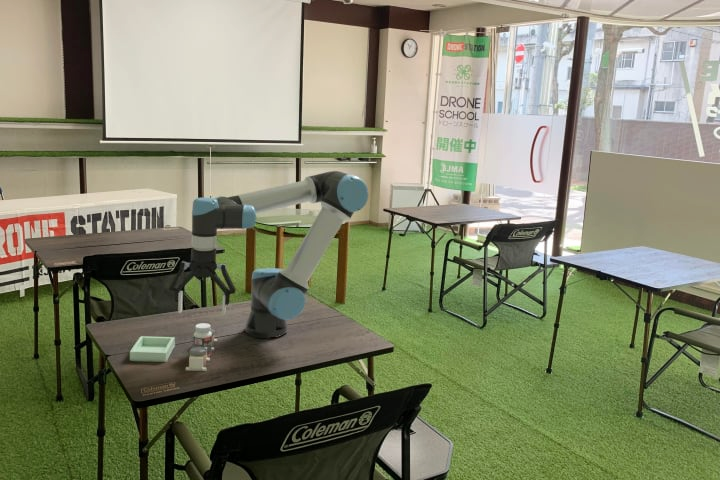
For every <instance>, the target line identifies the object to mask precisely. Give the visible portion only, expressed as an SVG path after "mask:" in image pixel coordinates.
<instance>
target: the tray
mask: <svg viewBox="0 0 720 480" xmlns="http://www.w3.org/2000/svg"><path fill="white" fill-rule="evenodd" d="M175 347H176V337H175V336H172V337H171V336H149V335H148V336H146V335H143V336H142V335H141V336H140V337H139V338H137V340H136V342H135V344H134V345H133V347H132V348H131V350H130V351H129V361H131V362H153V363H154V362H156V363H157V362H158V363H159V362H160V363H166V362H168V361H169V360H168V359H169V358H170V356H171V354H172V352H173V350H174V349H175Z"/></svg>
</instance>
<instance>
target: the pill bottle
mask: <svg viewBox="0 0 720 480" xmlns="http://www.w3.org/2000/svg"><path fill="white" fill-rule="evenodd" d="M211 327H212V326H211V324H209V323H204V322H202V323H197V324H196V325H195V331H194V333H193V341H192V342H193V344H192V348H194V347H207V358H209V357H210V356H211V355H212V333H211V332H210V329H212V328H211Z"/></svg>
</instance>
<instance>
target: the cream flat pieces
mask: <svg viewBox="0 0 720 480" xmlns="http://www.w3.org/2000/svg"><path fill="white" fill-rule="evenodd" d="M217 342H218V339H217V338H214V343H217ZM204 348H206V349H207V347H204ZM214 350H215V347H214V346H213V347H212V351H213V352H214ZM212 351H211V352H212ZM188 359H189V360H188V366H186V367H185V371H195V372H197V371H198V372H207V366H205V367H203V357H190V356H189V358H188ZM210 361H211V357H207V361H206V362H210Z"/></svg>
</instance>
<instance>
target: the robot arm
mask: <svg viewBox="0 0 720 480" xmlns="http://www.w3.org/2000/svg"><path fill="white" fill-rule="evenodd" d="M368 200H369V189H368V187H367V183H366V182H365V181H364V180H363V179H362V178H360V177H358V176H356V175H355V174H351V173H350V174H348V173H345V172H342V171H337V170H333V171H327V172H322V173H318V174H314V175H310V176H305V178H304V180H301V181H296V182H292V183H287V184H281V185H277V186H273V187H269V188H268V187H267V188H265V189H260V190H255V191H251V192H246V193H242V194H237V195H233V196H228V197H227V196H221V195H220V196H217V197H215V198H214V197H198V198H197V197H196V198H194V200H193V201H192V210H191V211H192V212H191V223H192V224H191V247H192V248H191V249H190V250H191V251H190V252H191V254H190V262H188V261H185V260H182V261H181V262H180V266H179V270H178V272H177V273H176V275H175V277H174V278H173V281H171V282H172V283H171V284H170V286H169V287H168V290H169V292H171V291H172V292H174V294H175V295H174V301H175V303H178V304H177V305H178V306H177V310H178V311H177V313H178V314H181V313H182V312H183V298H184V297H183V296H184V295H183V294H184V293H183V291H184V290H183V288H184V287H185V286H186V285H187V284H188V283H189V282H190V281H191V280H192V279H193V278H194V277H195V276H196V278H206V279H208V278H211V280H212V281H214V283H215V284H216V285H217V286H218V288H219V289H220V290H221V291H222V293H223V294H222V301H221V302H222V306H221V308H222V309H221V315H222V316H225V315H226V309H227V308H226V307H227V306H228V305H229V304H230V297H231V296H230V295H234V294H235V292H236V291H237V290H236V287H235V285H234V283H233V281H232V279H231V277H230V274H229V272H228V270H227V264H226V263H225V262H223V263H221V264H219V263H217V249H216V248H217V241H218V240H217V237H218V236H217V234H218V230H233V229H234V230H237V229H238V230H244V229H252V228H254V226H255V225H256V221H257V219H256V218H257V214H261V213H265V212H270V211H274V210H278V209H281V208H282V209H284V208H286V207H291V206H295V205H300V204H303V203H310V204H317V203H320V205H321V209H320V211H319V212H318V214H317V216H316V217H315V219H314V221H313V223H312V225H311V226H310V227H309V229H308V231H307V233H306V234H305V235H304V238H303V239H302V241H301V243H300V245H298V248H297V249H296V251H295V253H294V254H293V256H292V257H291V260H290V261H289V263H288V264H287V266H286V268H284V269H282V268H278V267H277V268H275V267H273V268H272V267H271V268H269V267H267V268H265V267H264V268H259V269H255V270H253V271H252V273H251V279H250V280H251V290H250V291H251V293H250V311H249V314H248V317H247V320H246V323H245V326H244V331H245V333H246V334H247V335H248V336H251V337H253V338H257V337H258V338H257V339H270V338H269V337H276V336H279V335H282V334H284V333H286V332H287V333H288V331H287V330H288V322H287V321H288V320H291V319H295V318H296V317H298V316H299V315H301V313H302V312H303V311H304V309H305V307H306V294H307V292H308V291H309V288H310V287H309V283H308V281H309V280H310V278H311V277H312V276H313V274H314V272H315V270H316V268H317V267H318V265H319V263H320V261H321V260H322V258H323V257H324V255H325V254H326V251H327V250H328V248H329V246H330V245H331V243H332V241H333V240H334V238H335V236H336V234H337V233H338V231H339V230H340V228H341V226H342V225H343V223H344V222H346V221H348V220H351V218H352V217H353V215H354V213H355V212H358V211H361V210H362V209H363V208H365V206H366V205H367V202H368ZM187 268H189V269H190V270H191V272H190V273H189V274H188V275H187V276H186V278H185V279H184V280H182V282H181V283H180V284H179V285H178V286H176V285H177V284H178V282H179V280H180V278H181V276H183V275H182V274H183V273H184V271H185V270H187ZM217 269H218V270H219V272H221V274H222V276H223V279H224V281H225V283H224V281H222V279H221V278H220V277H219V276H218V274H217V273H216V270H217ZM226 305H227V306H226ZM287 333H286V334H287Z"/></svg>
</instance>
